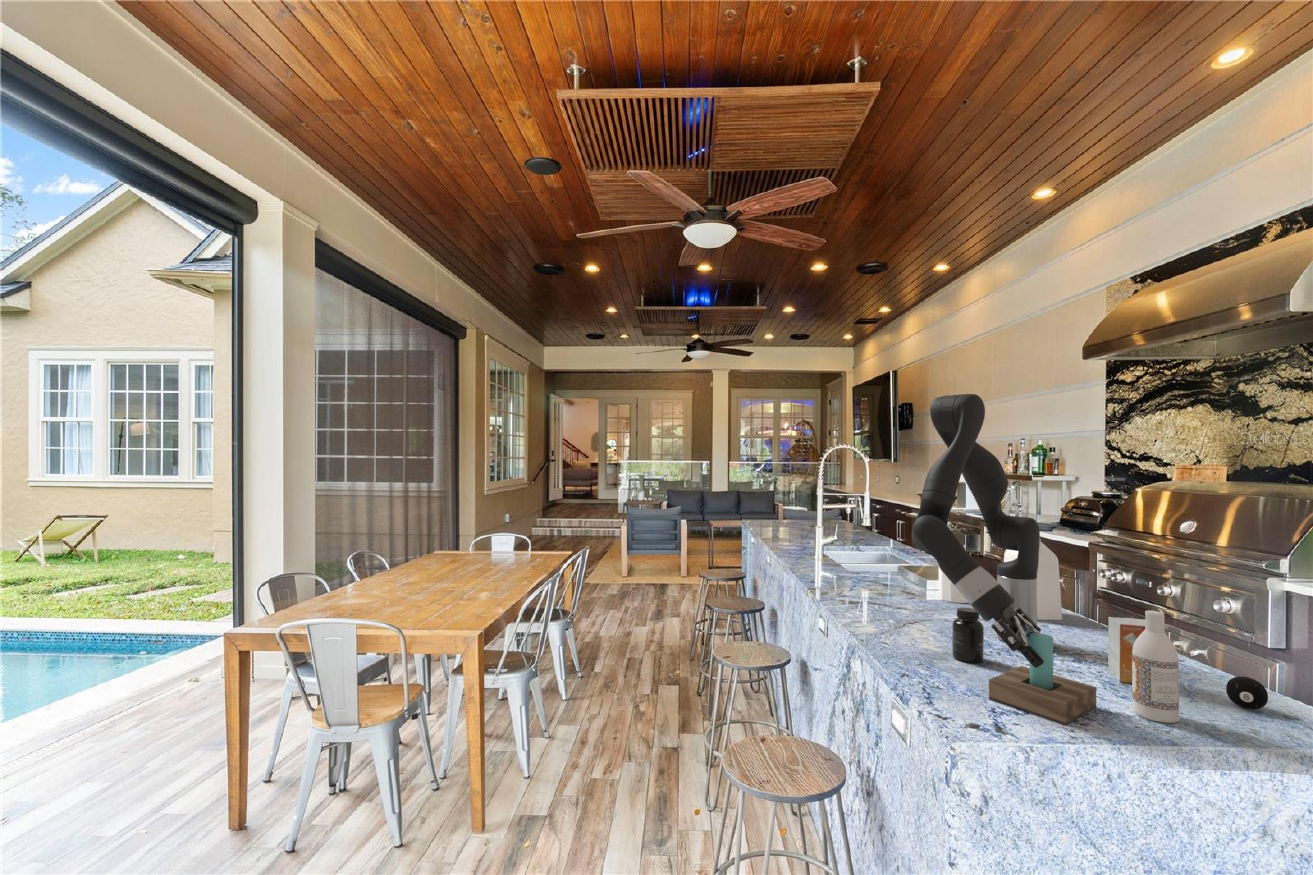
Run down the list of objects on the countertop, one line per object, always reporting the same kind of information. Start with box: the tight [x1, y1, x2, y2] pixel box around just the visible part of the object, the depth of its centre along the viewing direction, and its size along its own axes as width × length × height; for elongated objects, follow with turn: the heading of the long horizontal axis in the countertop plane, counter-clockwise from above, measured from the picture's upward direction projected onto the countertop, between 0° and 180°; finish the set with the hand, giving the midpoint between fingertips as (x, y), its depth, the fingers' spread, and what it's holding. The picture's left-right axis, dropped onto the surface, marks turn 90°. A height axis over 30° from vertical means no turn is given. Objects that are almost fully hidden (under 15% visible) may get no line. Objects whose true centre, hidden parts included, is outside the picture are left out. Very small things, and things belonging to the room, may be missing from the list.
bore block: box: [988, 665, 1097, 726], centre depth 122 cm, size 14×14×4 cm
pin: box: [1029, 632, 1054, 691], centre depth 122 cm, size 4×4×13 cm
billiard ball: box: [1225, 676, 1269, 710], centre depth 120 cm, size 6×6×6 cm
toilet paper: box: [938, 566, 969, 604], centre depth 205 cm, size 10×10×12 cm
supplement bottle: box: [951, 607, 985, 664], centre depth 147 cm, size 7×7×12 cm
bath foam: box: [1131, 610, 1180, 724], centre depth 116 cm, size 7×7×20 cm
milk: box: [1003, 539, 1063, 621], centre depth 187 cm, size 12×12×26 cm
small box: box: [1107, 616, 1145, 684], centre depth 134 cm, size 8×6×13 cm
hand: (1045, 660), depth 121 cm, fingers open, 8 cm apart
